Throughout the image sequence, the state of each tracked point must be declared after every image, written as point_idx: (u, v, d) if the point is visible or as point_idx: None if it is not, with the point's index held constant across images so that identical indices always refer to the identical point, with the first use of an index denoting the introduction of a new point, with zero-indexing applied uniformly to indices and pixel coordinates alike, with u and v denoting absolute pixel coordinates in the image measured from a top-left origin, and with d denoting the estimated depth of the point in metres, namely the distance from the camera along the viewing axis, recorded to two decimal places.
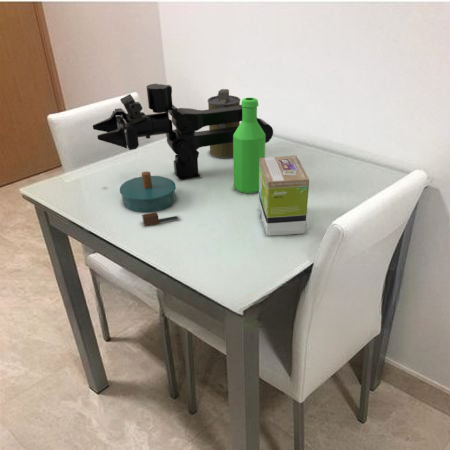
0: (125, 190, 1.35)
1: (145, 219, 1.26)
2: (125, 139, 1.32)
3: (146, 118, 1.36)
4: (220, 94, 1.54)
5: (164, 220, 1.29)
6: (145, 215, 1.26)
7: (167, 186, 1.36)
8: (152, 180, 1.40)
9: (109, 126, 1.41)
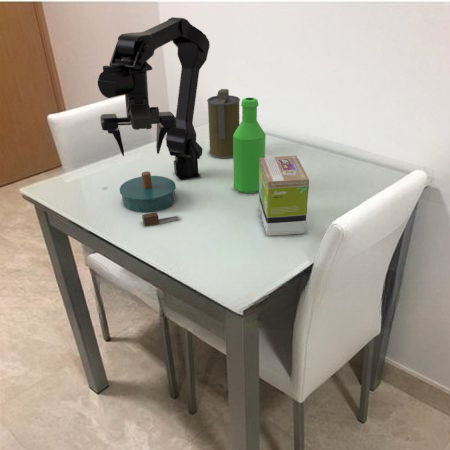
0: (125, 190, 1.35)
1: (145, 219, 1.26)
2: None
3: (147, 99, 1.22)
4: (220, 94, 1.54)
5: (164, 220, 1.29)
6: (145, 215, 1.26)
7: (167, 186, 1.36)
8: (152, 180, 1.40)
9: None
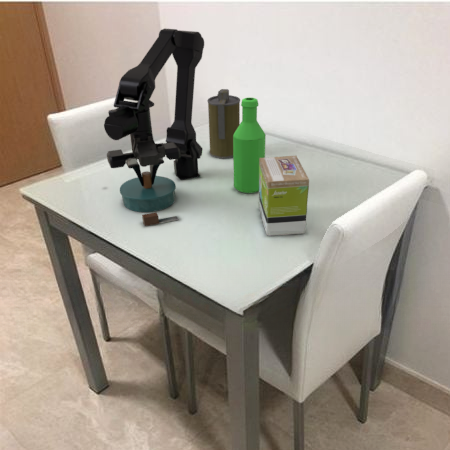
0: (125, 190, 1.35)
1: (145, 219, 1.26)
2: None
3: (152, 135, 1.26)
4: (220, 94, 1.54)
5: (164, 220, 1.29)
6: (145, 215, 1.26)
7: (167, 186, 1.36)
8: None
9: None
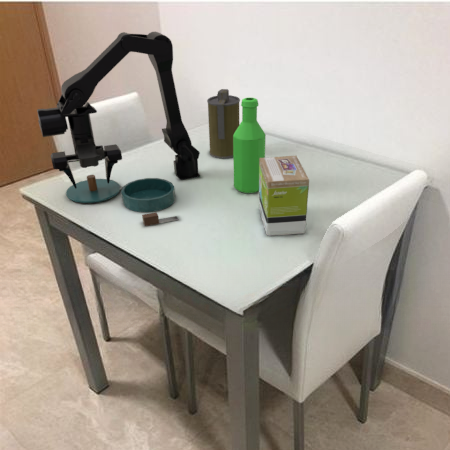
0: (71, 193, 1.41)
1: (145, 219, 1.26)
2: None
3: (92, 138, 1.32)
4: (219, 94, 1.54)
5: (164, 220, 1.29)
6: (145, 215, 1.26)
7: (112, 189, 1.43)
8: (99, 183, 1.46)
9: None
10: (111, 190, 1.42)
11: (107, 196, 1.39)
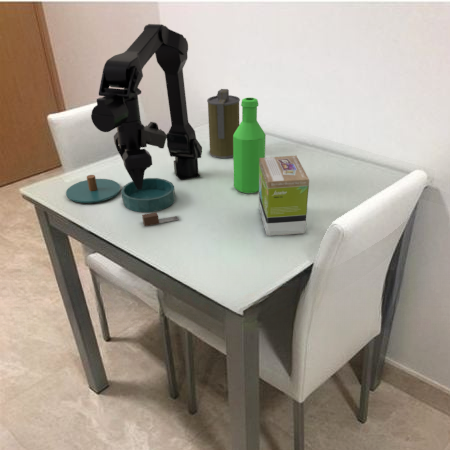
0: (71, 193, 1.41)
1: (145, 219, 1.26)
2: None
3: None
4: (219, 94, 1.54)
5: (164, 220, 1.29)
6: (145, 215, 1.26)
7: (112, 189, 1.43)
8: (99, 183, 1.46)
9: None
10: (111, 190, 1.42)
11: (107, 196, 1.39)
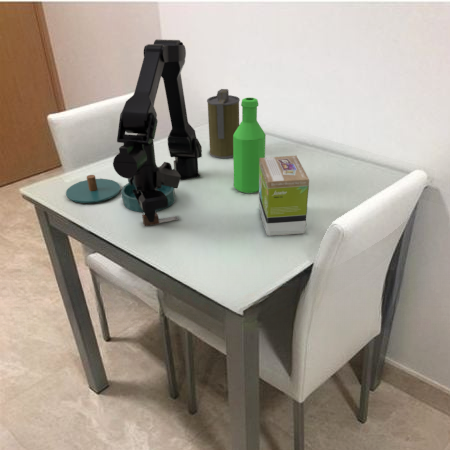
0: (71, 193, 1.41)
1: (145, 219, 1.26)
2: None
3: None
4: (219, 94, 1.54)
5: (164, 220, 1.29)
6: (145, 215, 1.26)
7: (112, 189, 1.43)
8: (99, 183, 1.46)
9: None
10: (111, 190, 1.42)
11: (107, 196, 1.39)
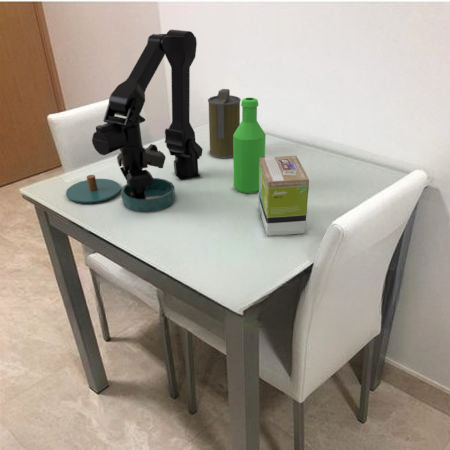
0: (71, 193, 1.41)
1: (133, 196, 1.36)
2: None
3: None
4: (220, 94, 1.54)
5: None
6: None
7: (112, 189, 1.43)
8: (99, 183, 1.46)
9: None
10: (111, 190, 1.42)
11: (107, 196, 1.39)
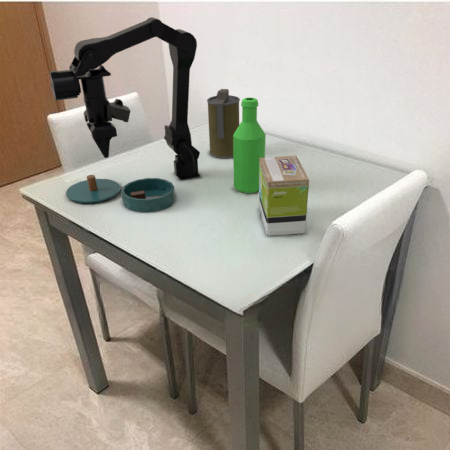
0: (71, 193, 1.41)
1: (133, 196, 1.36)
2: None
3: None
4: (219, 94, 1.54)
5: None
6: (133, 193, 1.36)
7: (112, 189, 1.43)
8: (99, 183, 1.46)
9: None
10: (111, 190, 1.42)
11: (107, 196, 1.39)
